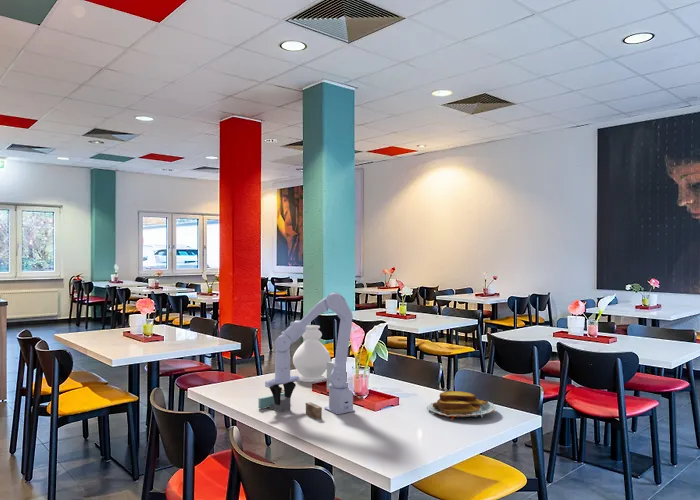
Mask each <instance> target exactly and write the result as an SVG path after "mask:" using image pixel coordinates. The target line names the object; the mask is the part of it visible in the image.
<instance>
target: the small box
mask: <svg viewBox="0 0 700 500" xmlns="http://www.w3.org/2000/svg"><path fill="white" fill-rule="evenodd" d="M334 361H335V360H331V362H327V369H326V390H327V389H329V384H330V383H331V382H330V376H331V375H330V373H331V370H332V369H333V367H334Z"/></svg>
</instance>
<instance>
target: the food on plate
mask: <svg viewBox="0 0 700 500" xmlns="http://www.w3.org/2000/svg"><path fill="white" fill-rule="evenodd" d="M496 408H497V406H496V405H495V404H494V403H493V402H490V401H487V400H483V399H477V397H476V395H475V394H473V393H471V392H468V391H467V392H466V391H460V390H450V391H448V390H447V391H443V392H441V393H439V399H437V400H436V401H435V402H432V403H430V404H429V405H427V407H426V410H427V411H430V412H433V413H436V414H439V415H440V416H445V417H448V418H449V417H451V419H450V420H451V421H455V418H466V417H467V418H468V417H476V418H477V417H478V416H481V418H483V416H485V415H488V414H492V413H493V412H494V411H495V409H496Z"/></svg>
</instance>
